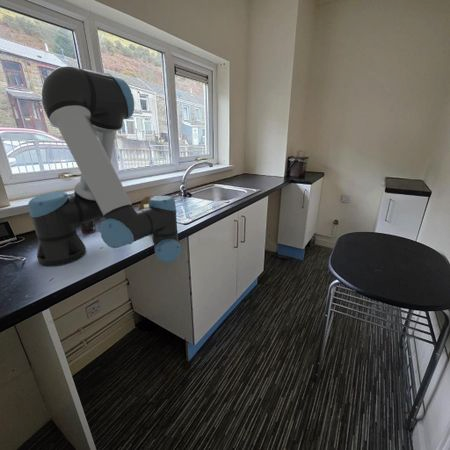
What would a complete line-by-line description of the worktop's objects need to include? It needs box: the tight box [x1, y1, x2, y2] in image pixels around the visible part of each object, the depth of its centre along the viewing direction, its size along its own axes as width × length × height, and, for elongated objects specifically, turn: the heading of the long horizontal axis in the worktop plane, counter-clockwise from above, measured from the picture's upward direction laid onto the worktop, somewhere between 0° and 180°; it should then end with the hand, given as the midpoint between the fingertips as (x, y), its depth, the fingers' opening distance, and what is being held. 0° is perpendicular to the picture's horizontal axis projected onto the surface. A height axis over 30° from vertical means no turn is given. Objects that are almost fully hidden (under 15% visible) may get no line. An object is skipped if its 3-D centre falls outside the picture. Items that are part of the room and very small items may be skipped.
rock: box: [138, 196, 152, 210], centre depth 136 cm, size 11×9×10 cm
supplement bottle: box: [79, 220, 97, 235], centre depth 110 cm, size 6×6×11 cm
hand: (155, 214), depth 105 cm, fingers closed
